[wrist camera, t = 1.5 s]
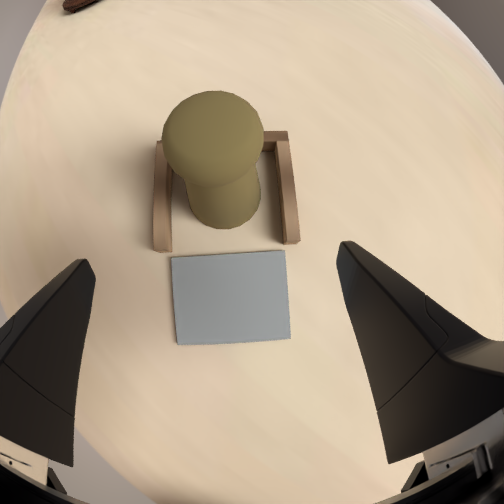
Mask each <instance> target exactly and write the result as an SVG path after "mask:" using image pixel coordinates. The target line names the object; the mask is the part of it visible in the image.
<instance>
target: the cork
mask: <svg viewBox="0 0 504 504" xmlns="http://www.w3.org/2000/svg"><path fill="white" fill-rule="evenodd" d="M263 142H264V129H263V126H262V123H261V121H260V118H259V116H258V113H257V111H256V110H255V109H254V108H253V107H252V106H251V105H250V104H249V103H248V102H247V101H246V100H244V99H242V98H240V97H239V96H237V95H235V94H233V93H228V92H224V91H206V92H202V93H198V94H195V95H192V96H191V97H189V98H187V99H185V100H183V101H182V102H181V103H180V104H179V105H178V106H177V107H176V108H174V109H173V111H172V112H171V114H170V115H169V117H168V119H167V121H166V122H165V124H164V127H163V133H162V147H163V152H164V157H165V158H166V160H167V161H168V163H169V164H170V166H171V167H172V169H173V170H174V172H175V173H176V174H178V175H179V176H180V177H182V178H183V179H184V180H185V185H186V190H187V195H188V199H189V203H190V207H191V210H192V212H193V213H194V215H195V216H196V218H197V219H198V220H200V221H201V222H202V223H204V224H205V225H207V226H210V227H212V228H215V229H231V228H234V227H238V226H241V225H242V224H243V223H245V222H246V221H248V220H249V219H250V218H251V217H252V216H253V214H254V213H255V212H256V211H257V208H258V205H259V203H260V199H261V189H260V184H259V179H258V175H257V170H256V166H255V163H256V162H257V161H258V158H259V156H260V153H261V150H262V148H263Z"/></svg>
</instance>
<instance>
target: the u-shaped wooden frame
mask: <svg viewBox="0 0 504 504" xmlns="http://www.w3.org/2000/svg"><path fill="white" fill-rule="evenodd" d="M261 151H275V160H276V169H277V179H278V188H279V198H280V209H281V219H282V230H283V242H284V245H287V244H297V243H298V242H299V241H301V240H300V230H299V220H298V210H297V201H296V193H295V184H294V176H293V168H292V161H291V153H290V146H289V139H288V132H287V131H264V142H263V148H262V150H261ZM171 188H172V167H171V166H170V164H169V163H168V161H167V160H166V158H165V157H164V152H163V147H162V140H160V141H157V145H156V158H155V175H154V202H153V250H154V251H157V252H160V253H164V252H172V232H171Z"/></svg>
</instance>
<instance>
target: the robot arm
mask: <svg viewBox="0 0 504 504" xmlns="http://www.w3.org/2000/svg"><path fill="white" fill-rule="evenodd" d="M336 265H337V270H338V274H339V279H340V283H341V287H342V292H343V296H344V301H345V304H346V308H347V311H348V314H349V317H350V320H351V323H352V326H353V329H354V332H355V335H356V339H357V342H358V345H359V348H360V352H361V355H362V358H363V362H364V365H365V369H366V372H367V376H368V379H369V383H370V387H371V390H372V394H373V398H374V402H375V406H376V410H377V415H378V419H379V423H380V428H381V432H382V437H383V441H384V446H385V451H386V456H387V461H388V464H391V463H394V462H397V461H400V460H403V459H406V458H408V457H411V456H414V455H416V454H419V453H421V452H423V456H424V460H423V461H421V462H419V463H417V464H416V466H415V467H414V469H413V471H412V473H411V475H410V476H409V478H408V480H407V481H406V483H405V485H404V486H403V488H402V490H401V494H398V495H396V496H393V497H391V498H388V499H386V500H383V501H380V502H378V503H375V504H504V341H494V340H491V339H488V338H486V337H484V336H482V335H481V334H479V333H478V332H476V331H475V330H474V329H472V328H471V327H470V326H468V325H467V324H465V323H464V322H462V321H461V320H460V319H458V318H457V317H455V316H454V315H453V314H451V313H450V312H448V311H447V310H446V309H444V308H443V307H442V306H440V305H439V304H438V303H436V302H435V301H434V300H433V299H431V298H430V297H429V296H428V295H425V293H424V292H422V291H421V290H420V289H418V288H417V287H416V286H415V285H413V284H412V283H411V282H409V281H408V280H407V279H405V278H404V277H403V276H401V275H400V274H399V273H397V272H396V271H394V270H393V269H392V268H390V267H389V266H388V265H386V264H385V263H383V262H382V261H381V260H379V259H378V258H376V257H375V256H374V255H372V254H371V253H369V252H368V251H366V250H365V249H364V248H362V247H361V246H359V245H358V244H356V243H355V242H353V241H342V242H341V243H340V246H339V251H338V255H337V260H336ZM95 282H96V278H95V274H94V272H93V270H92V268H91V266H90V264H89V262H88V260H87V259H77V260H75V261H74V262H73V263H71V264H70V265H69V266H68V267H67V268H65V269H64V270H63V271H62V272H61V273H59V274H58V275H57V276H56V277H55V278H53V279H52V280H51V281H50V282H49V283H48V284H47V285H45V286H44V287H43V288H42V289H41V290H40V291H39V292H38V293H36V294H35V295H34V296H33V297H32V298H31V299H30V300H29V301H28V302H27V303H26V304H25V305H24V306H22V307H21V308H20V309H19V310H18V311H17V312H16V313H15V315H13V316H12V317H11V318H10V319H9V320H8V321H7V322H6V323H5V324H4V325H3V326H2V327H1V328H0V504H88V503H85V502H83V501H80V500H77V499H75V498H73V497H70V496H68V495H67V492H66V491H65V489H64V488H63V486H62V484H61V483H60V481H59V479H58V478H57V476H56V474H55V473H54V471H53V469H52V468H50V467H48V462H49V459H51V460H53V461H56V462H59V463H61V464H64V465H67V466H70V467H73V443H74V439H73V438H74V420H75V418H74V417H75V406H76V396H77V387H78V379H79V372H80V366H81V359H82V354H83V348H84V343H85V338H86V333H87V328H88V324H89V319H90V313H91V307H92V300H93V294H94V288H95Z"/></svg>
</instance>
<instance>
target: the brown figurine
mask: <svg viewBox="0 0 504 504" xmlns="http://www.w3.org/2000/svg"><path fill="white" fill-rule="evenodd" d="M93 1H95V0H65V1H64V3H63V5H62V6H63V8H64V10H66V11H70V12H71V13H75V9H77V8H79V7H82V6H84V5H87V4H89V3H91V2H93Z"/></svg>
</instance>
